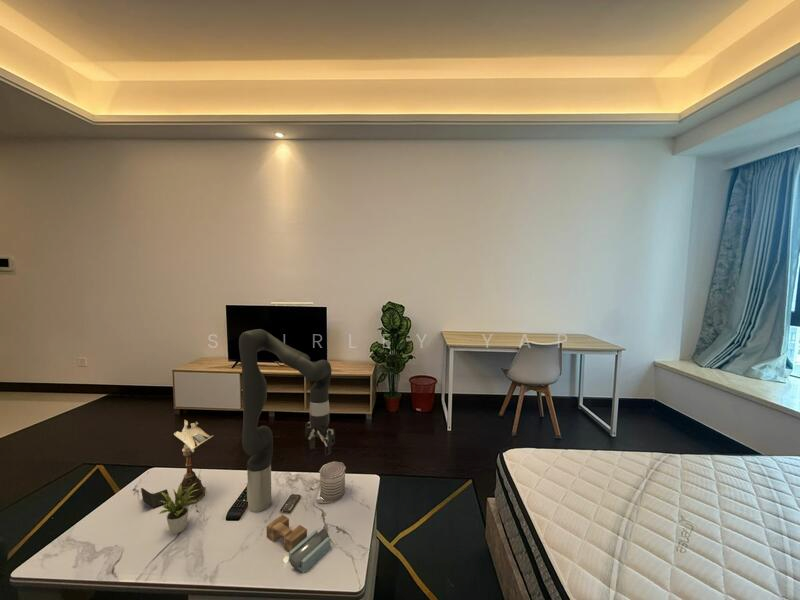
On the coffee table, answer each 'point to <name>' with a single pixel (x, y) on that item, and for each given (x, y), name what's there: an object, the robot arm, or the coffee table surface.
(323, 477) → the can
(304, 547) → the axle
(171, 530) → the house plant
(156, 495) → the dark v-shaped block
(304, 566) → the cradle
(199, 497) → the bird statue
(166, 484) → the coffee table surface
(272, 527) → the brown h-shaped block
